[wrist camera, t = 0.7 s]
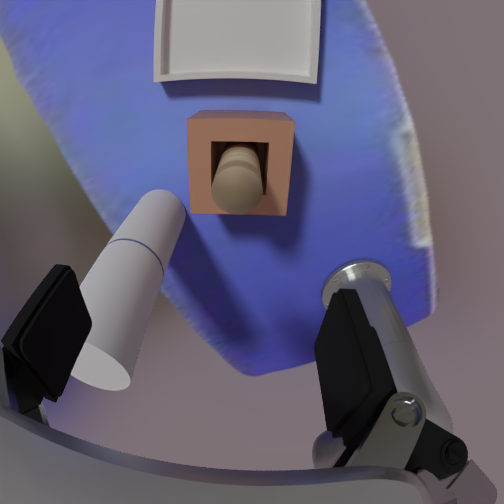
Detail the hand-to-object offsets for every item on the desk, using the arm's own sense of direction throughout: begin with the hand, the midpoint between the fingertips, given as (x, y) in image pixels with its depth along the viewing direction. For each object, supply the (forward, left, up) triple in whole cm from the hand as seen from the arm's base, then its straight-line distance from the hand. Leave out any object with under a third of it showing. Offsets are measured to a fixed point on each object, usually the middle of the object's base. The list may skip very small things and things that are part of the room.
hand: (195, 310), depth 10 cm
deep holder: (-1, -1, -28) cm, 28 cm away
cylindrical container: (-10, +10, -28) cm, 32 cm away
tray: (+16, 0, -28) cm, 32 cm away
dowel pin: (-1, -1, -27) cm, 27 cm away
